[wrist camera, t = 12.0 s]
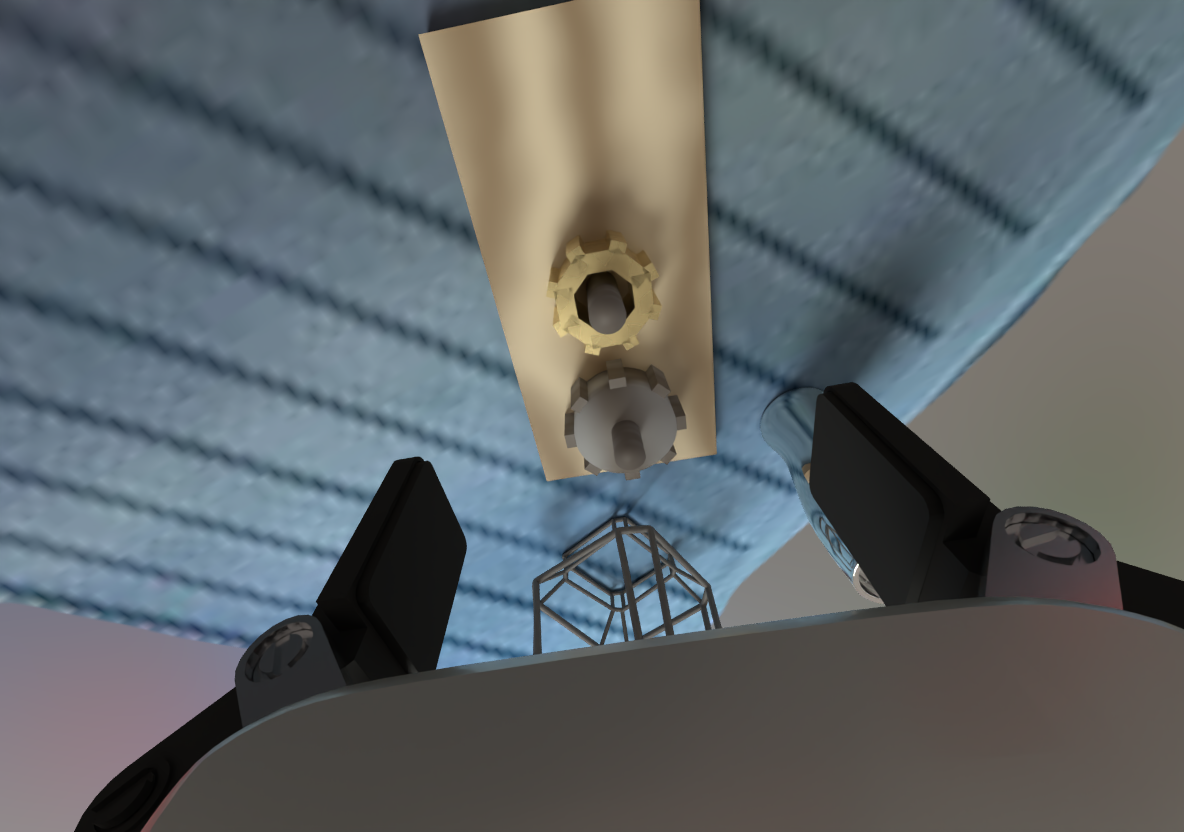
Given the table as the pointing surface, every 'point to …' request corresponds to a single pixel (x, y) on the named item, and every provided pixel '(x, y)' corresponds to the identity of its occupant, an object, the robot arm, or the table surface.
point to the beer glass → (808, 472)
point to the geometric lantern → (598, 544)
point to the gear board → (590, 215)
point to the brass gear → (593, 260)
